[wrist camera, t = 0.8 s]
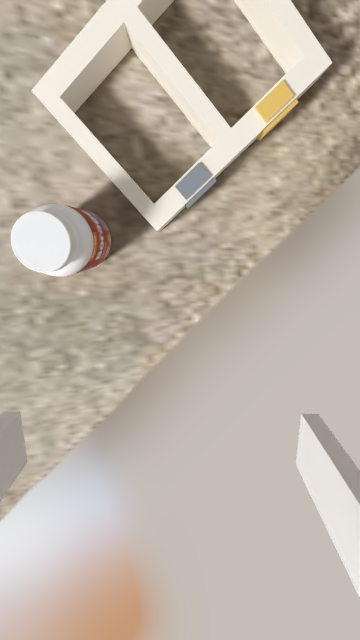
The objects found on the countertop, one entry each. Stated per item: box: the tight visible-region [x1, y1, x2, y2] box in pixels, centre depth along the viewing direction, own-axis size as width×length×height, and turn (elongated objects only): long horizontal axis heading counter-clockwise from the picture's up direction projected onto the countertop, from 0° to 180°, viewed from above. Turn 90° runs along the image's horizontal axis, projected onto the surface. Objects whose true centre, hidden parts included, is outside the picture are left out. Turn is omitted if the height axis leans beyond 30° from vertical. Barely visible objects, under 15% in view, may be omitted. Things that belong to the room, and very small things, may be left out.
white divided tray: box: [31, 0, 332, 231], centre depth 29 cm, size 16×20×4 cm
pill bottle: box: [11, 204, 111, 277], centre depth 30 cm, size 6×6×11 cm
